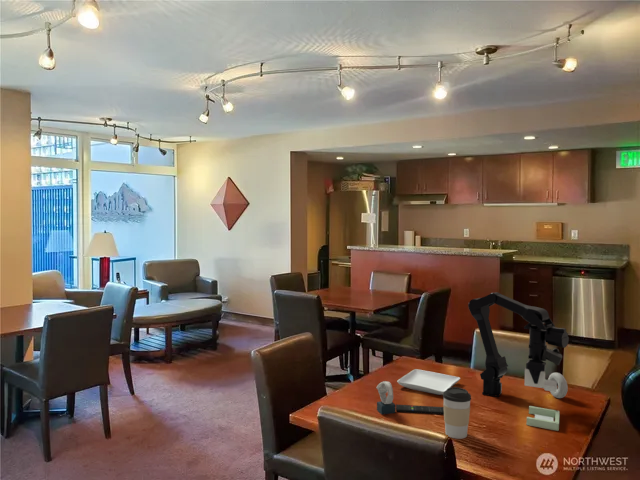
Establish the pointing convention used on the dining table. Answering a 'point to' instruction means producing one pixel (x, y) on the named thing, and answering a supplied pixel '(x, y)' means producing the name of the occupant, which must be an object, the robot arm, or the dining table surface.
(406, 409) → the remote control
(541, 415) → the tile
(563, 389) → the donut
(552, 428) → the green c-shaped block
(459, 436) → the coffee cup
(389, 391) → the abstract loop sculpture
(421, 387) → the salad plate
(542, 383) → the scraper
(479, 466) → the dining table surface
